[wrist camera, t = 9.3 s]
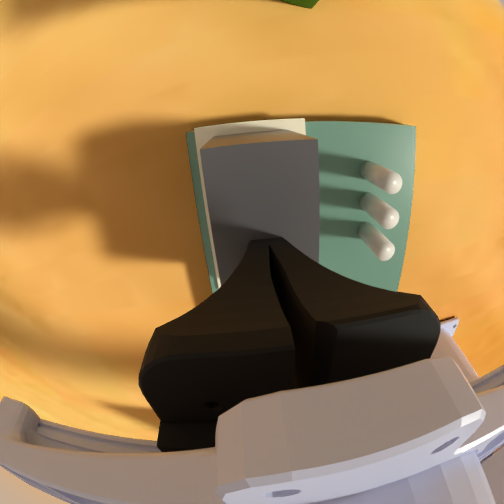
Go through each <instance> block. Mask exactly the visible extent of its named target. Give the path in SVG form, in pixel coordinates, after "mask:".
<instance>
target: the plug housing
mask: <svg viewBox="0 0 504 504" xmlns="http://www.w3.org/2000/svg"><path fill="white" fill-rule="evenodd" d="M200 156H201V163H202V170H203V177H204V184H205V191H206V198H207V205H208V211H209V218H210V224H211V230H212V236H213V242H214V248H215V254H216V260H217V266H218V272H219V278H220V283H221V286H222V285H223V284H224V283H225V281H226V280H227V279H228V278H229V277H230V275H231V274H232V272H233V271H234V270H235V268H236V267H237V265H238V264H239V262H240V260H241V258H242V257H243V255H244V253H245V251H246V248H247V246H248V243H249V242H250V241H251V240H260V239H270V238H279V237H283V238H284V239H286V240H287V241H288V242H289V243H290V244H292V245H293V246H294V247H296V248H297V249H298V250H299V251H301V252H302V253H304V254H305V255H306V256H308V257H309V258H311V259H312V260H314V261H316V262H317V263H319V233H320V194H319V154H318V139H316V138H313V137H309V136H306V135H303V134H300V133H297V132H293V131H290V130H276V131H262V132H250V133H240V134H230V135H222V136H214V137H213V138H212V139H210V140H209V141H208V142H207V143H206V144H205V145H204V146H203V147H202V148H200Z"/></svg>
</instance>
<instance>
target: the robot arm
mask: <svg viewBox="0 0 504 504" xmlns="http://www.w3.org/2000/svg"><path fill="white" fill-rule="evenodd" d="M458 323H459V319H458V318H457V317H456V318H453V319H449V320H446V321H443V322H440V321H439V319H438V316H437V315H436V314H435V312H434V311H433V310H432V309H431V307H430V306H429V305H428V304H427V302H426V301H425V300H424V299H423V297H422V296H421V295H416V294H409V293H402V292H396V291H390V290H386V289H382V288H377V287H374V286H370V285H367V284H363V283H361V282H358V281H355V280H352V279H349V278H347V277H344V276H342V275H340V274H338V273H336V272H334V271H332V270H329V269H328V268H326V267H324V266H322V265H320V264H319V263H317V262H316V261H314V260H312V259H311V258H309V257H308V256H306V255H305V254H304V253H302V252H301V251H299V250H298V249H297V248H296V247H294V246H293V245H292V244H290V243H289V242H288V241H287V240H286V239H284V238H283V237H279V238H270V239H260V240H251V241H250V242H249V243H248V246H247V248H246V251H245V253H244V255H243V257H242V258H241V260H240V262H239V264H238V265H237V267H236V268H235V270H234V271H233V272H232V274H231V275H230V277H229V278H228V279H227V280H226V281H225V283H224V284H223V285H222V286H221V287H220V288H219V289H218V290H217V291H216V292H214V293H213V294H212V295H211V296H210V297H208V298H207V299H206V300H205V301H204V302H202V303H201V304H199V305H198V306H196V307H195V308H194V309H192V310H190V311H189V312H187V313H185V314H184V315H182V316H180V317H178V318H176V319H174V320H172V321H170V322H168V323H166V324H164V325H162V326H160V327H157V328H156V329H155V331H154V333H153V335H152V338H151V340H150V342H149V344H148V347H147V349H146V352H145V356H144V359H143V362H142V366H141V369H140V373H139V387H140V389H141V391H142V394H143V395H144V397H145V398H146V400H147V401H148V403H149V404H150V406H151V407H152V409H153V410H154V412H155V413H156V414H157V416H158V417H159V419H160V420H161V421H160V427H159V433H158V440H157V441H151V440H142V439H133V438H126V437H119V436H112V435H106V434H101V433H96V432H91V431H86V430H81V429H77V428H73V427H69V426H65V425H61V424H57V423H54V422H50V421H47V420H43V419H40V418H39V416H38V415H37V414H36V413H35V412H34V411H33V410H32V409H31V408H30V407H29V406H28V405H26V404H25V403H22V402H20V401H17V400H14V399H11V398H8V397H3V398H2V401H1V403H0V466H2V467H3V468H5V469H6V470H7V471H9V472H10V473H12V474H13V475H15V476H16V477H18V478H19V479H21V480H23V481H24V482H26V483H28V484H29V485H31V486H33V487H35V488H37V489H39V490H41V491H43V492H46V493H48V494H50V495H52V496H54V497H57V498H59V499H61V500H63V501H66V502H68V503H71V504H504V365H502V366H500V367H499V368H497V369H495V370H493V371H492V372H490V373H488V374H486V375H484V376H483V377H481V378H480V377H479V376H478V374H477V373H476V371H475V370H474V368H473V367H472V365H471V364H470V362H469V361H468V359H467V358H466V356H465V355H464V353H463V352H462V350H461V349H460V348H459V346H458V345H457V343H456V342H455V341H454V339H453V338H452V336H453V334H454V332H455V330H456V327H457V325H458ZM486 456H487V457H486ZM482 459H483V460H482Z"/></svg>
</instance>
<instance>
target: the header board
mask: <svg viewBox="0 0 504 504" xmlns="http://www.w3.org/2000/svg"><path fill="white" fill-rule="evenodd" d="M276 130H290V131H293V132H297V133H300V134H303V135H306V136H309V137H313V138H316V139H318V154H319V194H320V233H319V264H320V265H322V266H324V267H326V268H328V269H329V270H332V271H334V272H336V273H338V274H340V275H342V276H344V277H347V278H349V279H352V280H355V281H358V282H361V283H363V284H367V285H370V286H374V287H377V288H382V289H386V290H390V291H396V292H397V290H398V285H399V280H400V276H401V271H402V266H403V260H404V255H405V249H406V243H407V237H408V230H409V222H410V215H411V206H412V196H413V185H414V170H415V147H416V126H410V125H404V124H394V123H381V122H363V121H305V118H295V119H274V120H259V121H247V122H237V123H227V124H219V125H211V126H204V127H197V128H194V131H190V132H187V133H186V137H187V144H188V152H189V159H190V166H191V173H192V179H193V186H194V192H195V199H196V205H197V211H198V217H199V223H200V229H201V234H202V240H203V245H204V251H205V256H206V262H207V267H208V272H209V277H210V282H211V287H212V292H213V293H214V292H216V291H217V290H218V289H219V288H220V287H221V283H220V278H219V272H218V266H217V260H216V254H215V248H214V242H213V236H212V230H211V224H210V218H209V211H208V205H207V198H206V191H205V184H204V177H203V170H202V163H201V156H200V148H202V147H203V146H204V145H205V144H206V143H207V142H208V141H209V140H210V139H212V138H213V137H214V136H222V135H230V134H240V133H250V132H262V131H276Z"/></svg>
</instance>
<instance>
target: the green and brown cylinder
mask: <svg viewBox="0 0 504 504" xmlns="http://www.w3.org/2000/svg"><path fill="white" fill-rule="evenodd" d="M282 1H285V2H287V3H290V4H294V5H297V6H301V7H306V8H311V9H312V7H313V6H314V5H315V4H316V3H317V2H318V1H319V0H282Z"/></svg>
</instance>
